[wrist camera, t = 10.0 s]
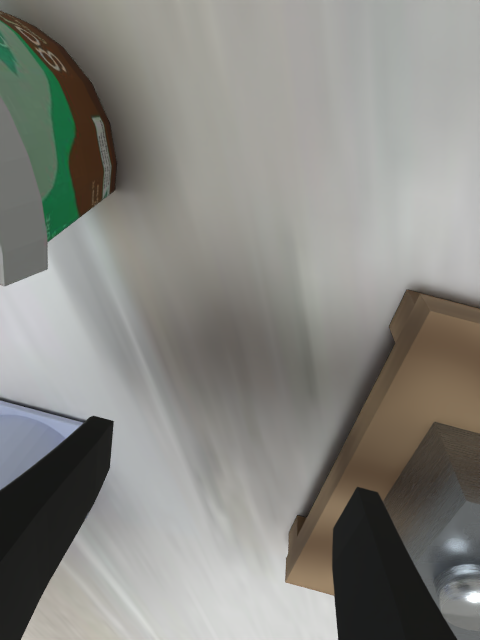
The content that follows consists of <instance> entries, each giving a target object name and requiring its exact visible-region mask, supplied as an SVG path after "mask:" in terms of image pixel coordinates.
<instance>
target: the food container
mask: <svg viewBox="0 0 480 640" xmlns="http://www.w3.org/2000/svg"><path fill="white" fill-rule="evenodd" d="M116 170H117V161H116V155H115V149H114V144H113V138H112V132H111V127H110V122H109V120H108V118H107V116H106V114H105V111H104V109H103V107H102V105H101V103H100V100H99V98H98V96H97V94H96V92H95V89H94V87H93V85H92V83H91V82H90V80H89V79H88V78H87V77H86V75H85V74H84V73H83V72H82V70H81V69H80V68H79V67H78V65H77V64H76V63H75V62H74V60H73V59H72V58H71V57H70V55H69V54H68V53H67V52H66V50H65V49H64V48H63V47H62V46H61V45H59V44H58V43H57V42H55V41H54V40H53V39H51V38H50V37H49V36H47V35H46V34H45V33H43V32H42V31H41V30H39V29H38V28H37V27H35V26H33V25H31V24H29V23H27V22H25V21H23V20H21V19H19V18H16V17H14V16H12V15H9V14H7V13H4V12H2V11H0V285H2V286H7V285H9V284H12V283H14V282H17V281H19V280H22V279H24V278H27V277H29V276H32V275H34V274H37V273H39V272H42V271H44V270H47V269H48V257H47V242H49V241H50V240H51V239H52V238H54V237H55V236H56V235H58V234H59V233H60V232H62V231H63V230H64V229H65V228H67V227H68V226H69V225H71V224H72V223H73V222H75V221H76V220H77V219H78V218H80V217H81V216H82V215H84V214H85V213H86V212H88V211H89V210H90V209H91V208H93V207H94V206H95V205H97V204H98V203H99V202H100V201H102V200H103V199H104V198H106V197H107V196H108V195H110V194H111V193H112V192H113V191H115V183H116Z"/></svg>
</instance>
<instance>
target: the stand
mask: <svg viewBox="0 0 480 640" xmlns="http://www.w3.org/2000/svg"><path fill="white" fill-rule="evenodd" d="M389 328H390V331H391V333H392V336H393V339H394V341H395V345H394V347H393V349H392V351H391V353H390V355H389V357H388V359H387V361H386V363H385V364H384V366H383V368H382V370H381V372H380V374H379V376H378V378H377V380H376V382H375V384H374V386H373V388H372V390H371V392H370V394H369V396H368V398H367V400H366V402H365V404H364V406H363V408H362V410H361V412H360V414H359V416H358V418H357V420H356V422H355V424H354V426H353V428H352V430H351V432H350V434H349V435H348V437H347V439H346V441H345V443H344V445H343V447H342V449H341V451H340V453H339V455H338V457H337V459H336V461H335V463H334V465H333V467H332V469H331V471H330V473H329V475H328V477H327V479H326V481H325V483H324V485H323V487H322V489H321V491H320V493H319V495H318V497H317V499H316V501H315V503H314V504H313V506H312V508H311V510H310V512H309V514H308V516H307V518H306V517H302V516H298V515H297V517H296V519H295V521H294V523H293V525H292V527H291V529H290V532H289V547H288V556H287V558H286V576H285V582H286V583H290V584H293V585H297V586H301V587H305V588H308V589H312V590H316V591H319V592H323V593H327V594H330V595H334V584H333V572H332V544H333V528H334V526H335V524H336V522H337V521H338V519H339V517H340V515H341V514H342V512H343V510H344V509H345V507H346V505H347V503H348V502H349V500H350V498H351V496H352V495H353V493H354V491H355V489H356V488H357V487H360V488H364V489H368V490H372V491H375V492H378V493H379V495H380V497H381V499H382V501H383V500H384V499H385V497H386V496H387V494H388V493H389V491H390V490H391V488H392V486H393V485H394V483H395V482H396V480H397V479H398V477H399V476H400V474H401V472H402V471H403V469H404V468H405V466H406V465H407V463H408V462H409V460H410V458H411V457H412V455H413V454H414V452H415V451H416V449H417V448H418V446H419V444H420V443H421V441H422V440H423V438H424V437H425V435H426V434H427V432H428V431H429V429H430V427H431V426H432V424H433V423H434V422H438V423H442V424H446V425H449V426H453V427H457V428H461V429H464V430H468V431H472V432H476V433H479V434H480V309H479V308H475V307H472V306H468V305H464V304H460V303H456V302H453V301H449V300H445V299H441V298H437V297H434V296H430V295H426V294H422V293H418V292H415V291H411V290H406V292H405V294H404V296H403V299H402V301H401V303H400V305H399V307H398V309H397V311H396V313H395V315H394V317H393V319H392V321H391V323H390V325H389Z"/></svg>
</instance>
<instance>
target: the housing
mask: <svg viewBox="0 0 480 640" xmlns="http://www.w3.org/2000/svg"><path fill="white" fill-rule="evenodd" d="M383 503H384V505H385V507H386V509H387V511H388V513H389V515H390V517H391V519H392V522H393V524H394V526H395V528H396V530H397V532H398V534H399V536H400V538H401V540H402V542H403V544H404V546H405V548H406V550H407V551H408V553H409V555H410V557H411V559H412V561H413V563H414V565H415V567H416V569H417V570H418V572H419V574H420V576H421V578H422V580H423V582H424V583H425V585H426V587H427V589H428V591H429V592H430V594H431V596H432V598H433V600H434V601H435V603H436V605H437V606H438V608H439V610H440V612H441V613H442V615H443V617H444V618H445V620H446V622H447V623H448V625H449V627H450V628H451V630H452V632H453V633H454V635H455V636H456V638H457V640H480V434H479V433H476V432H472V431H468V430H464V429H461V428H457V427H453V426H449V425H446V424H442V423H438V422H434V423H433V424H432V426H431V427H430V429H429V431H428V432H427V434H426V435H425V437H424V438H423V440H422V441H421V443H420V444H419V446H418V448H417V449H416V451H415V452H414V454H413V455H412V457H411V458H410V460H409V462H408V463H407V465H406V466H405V468H404V469H403V471H402V472H401V474H400V476H399V477H398V479H397V480H396V482H395V483H394V485H393V486H392V488H391V490H390V491H389V493H388V494H387V496H386V497H385V499H384V500H383Z"/></svg>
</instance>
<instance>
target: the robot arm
mask: <svg viewBox="0 0 480 640" xmlns="http://www.w3.org/2000/svg"><path fill="white" fill-rule="evenodd" d="M113 423H114V421H111V420H107V419H104V418H100V417H96V416H92V417H89V418H88V419H87V420H86V421H85V422H84V423H83V422H79V421H75V420H71V419H68V418H64V417H60V416H56V415H53V414H49V413H45V412H42V411H38V410H34V409H30V408H27V407H23V406H19V405H16V404H12V403H8V402H4V401H1V400H0V640H21V638H22V636H23V634H24V632H25V629H26V627H27V625H28V623H29V621H30V619H31V617H32V615H33V613H34V610H35V608H36V606H37V604H38V602H39V600H40V598H41V596H42V594H43V592H44V590H45V588H46V587H47V585H48V583H49V581H50V579H51V577H52V576H53V574H54V572H55V571H56V569H57V567H58V565H59V564H60V562H61V560H62V558H63V557H64V555H65V553H66V551H67V550H68V548H69V546H70V544H71V543H72V541H73V539H74V538H75V536H76V534H77V532H78V531H79V529H80V527H81V525H82V524H83V522H84V520H85V519H86V518H87V516H88V514H89V511H90V510H91V508H92V506H93V504H94V502H95V500H96V498H97V496H98V494H99V491H100V489H101V487H102V485H103V482H104V480H105V478H106V475H107V473H108V471H109V468H110V458H111V446H112V434H113ZM332 572H333V584H334V596H335V607H336V618H337V629H338V640H457V638H456V636H455V635H454V633H453V632H452V630H451V628H450V627H449V625H448V623H447V622H446V620H445V618H444V617H443V615H442V613H441V612H440V610H439V608H438V606H437V605H436V603H435V601H434V600H433V598H432V596H431V594H430V592H429V591H428V589H427V587H426V585H425V583H424V582H423V580H422V578H421V576H420V574H419V572H418V570H417V569H416V567H415V565H414V563H413V561H412V559H411V557H410V555H409V553H408V551H407V550H406V548H405V546H404V544H403V542H402V540H401V538H400V536H399V534H398V532H397V530H396V528H395V526H394V524H393V522H392V519H391V517H390V515H389V513H388V511H387V509H386V507H385V505H384V503H383V501H382V499H381V497H380V495H379V493H378V492H375V491H372V490H368V489H364V488H360V487H357V488H356V489H355V491H354V493H353V495H352V496H351V498H350V500H349V502H348V503H347V505H346V507H345V509H344V510H343V512H342V514H341V515H340V517H339V519H338V521H337V522H336V524H335V526H334V528H333V544H332Z"/></svg>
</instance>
